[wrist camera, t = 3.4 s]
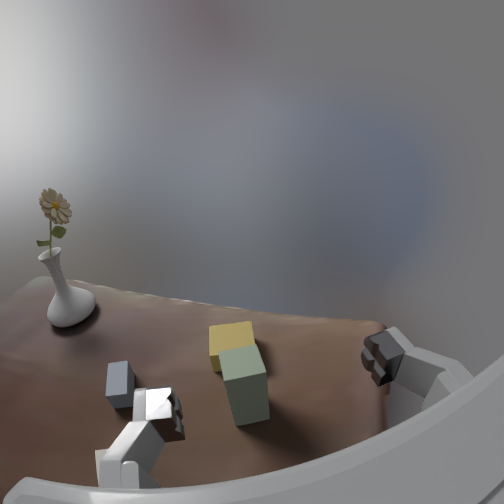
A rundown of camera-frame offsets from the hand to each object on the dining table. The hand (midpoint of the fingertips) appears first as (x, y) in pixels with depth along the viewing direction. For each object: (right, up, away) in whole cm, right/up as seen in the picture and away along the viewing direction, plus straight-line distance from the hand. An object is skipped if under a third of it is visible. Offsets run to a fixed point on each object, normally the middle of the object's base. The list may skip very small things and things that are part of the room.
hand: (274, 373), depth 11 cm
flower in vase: (-36, -7, +39) cm, 54 cm away
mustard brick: (-3, -10, +29) cm, 31 cm away
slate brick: (-18, -14, +23) cm, 32 cm away
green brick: (-1, -14, +20) cm, 24 cm away
